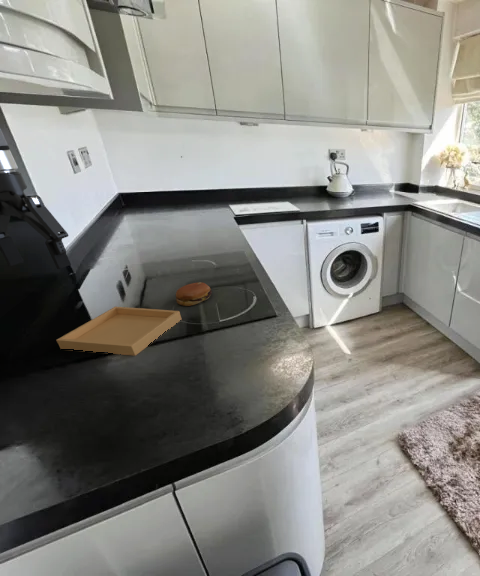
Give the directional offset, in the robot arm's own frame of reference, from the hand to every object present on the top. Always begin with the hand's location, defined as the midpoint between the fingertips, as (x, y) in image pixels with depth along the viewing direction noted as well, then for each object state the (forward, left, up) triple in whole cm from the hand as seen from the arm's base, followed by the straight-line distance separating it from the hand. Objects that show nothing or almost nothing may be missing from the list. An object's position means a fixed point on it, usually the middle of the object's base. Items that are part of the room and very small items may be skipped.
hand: (40, 265), depth 78 cm
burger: (+22, +20, -19) cm, 35 cm away
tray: (+16, 0, -18) cm, 24 cm away
